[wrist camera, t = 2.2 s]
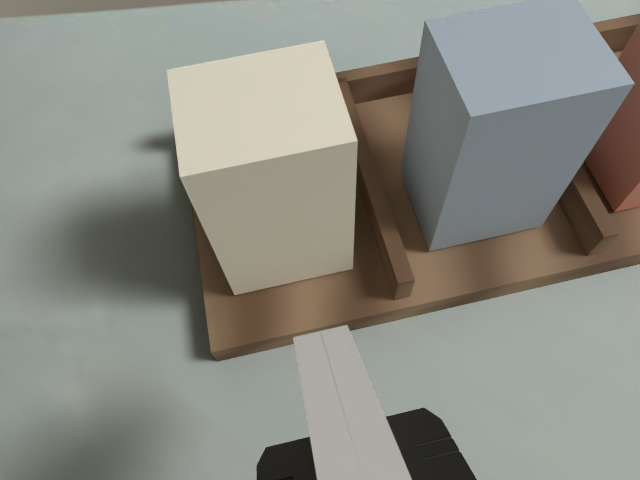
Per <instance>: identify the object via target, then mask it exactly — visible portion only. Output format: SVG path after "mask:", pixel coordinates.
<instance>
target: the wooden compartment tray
mask: <svg viewBox="0 0 640 480" xmlns="http://www.w3.org/2000/svg"><path fill="white" fill-rule="evenodd" d="M639 22H640V14H636V15H631V16H626V17H621V18H616V19H611V20H605V21H600V22H595V23H593V24H594V26H595V27H596V29H597V30H598V31H599V33H600V34H601V36H602V37H603V39H604V40H605V41H606V43H607V44H608V46H609V47H610V49H611V50H612V51H613V53H614V54H615V56H616V57H617V59H618V58H619V56H620V55H621V53H622V51H623V50H624V48H625V46H626V44H627V43H628V41H629V39H630V38H631V36H632V34H633V32H634V31H635V29H636V27H637V26H638V24H639ZM418 60H419V57H415V58H410V59H405V60H399V61H394V62H389V63H384V64H379V65H374V66H369V67H363V68H358V69H353V70H348V71H343V72H338V73H335V74H336V77H337V80H338V83H339V86H340V89H341V92H342V95H343V98H344V101H345V104H346V107H347V110H348V113H349V116H350V119H351V122H352V125H353V128H354V131H355V134H356V137H357V140H358V147H357V173H356V199H355V226H354V252H353V269H351V270H346V271H342V272H337V273H333V274H328V275H324V276H319V277H315V278H310V279H306V280H301V281H297V282H292V283H288V284H283V285H279V286H274V287H270V288H265V289H261V290H256V291H252V292H247V293H243V294H238V295H234V293H233V291H232V289H231V287H230V285H229V282H228V280H227V278H226V276H225V274H224V272H223V270H222V267H221V265H220V263H219V261H218V259H217V257H216V254H215V252H214V250H213V248H212V246H211V244H210V241H209V239H208V237H207V235H206V233H205V231H204V229H203V226H202V224H201V222H200V220H199V218H198V216H197V213H196V211H195V209H194V207H193V205H192V211H193V219H194V226H195V234H196V242H197V249H198V257H199V265H200V272H201V280H202V288H203V296H204V303H205V311H206V319H207V326H208V334H209V342H210V349H211V353H212V355H213V356H214V357H215V359H216V360H217V361H221V360H225V359H230V358H234V357H238V356H243V355H247V354H251V353H256V352H260V351H264V350H269V349H273V348H277V347H282V346H286V345H290V344H294V341H293V337H296V336H300V335H305V334H309V333H314V332H318V331H322V330H327V329H331V328H336V327H340V326H344V325H348V328H349V330H350V331H351V330H355V329H360V328H364V327H368V326H373V325H377V324H381V323H386V322H390V321H394V320H399V319H403V318H407V317H412V316H416V315H420V314H425V313H429V312H433V311H438V310H442V309H446V308H451V307H455V306H459V305H464V304H468V303H472V302H477V301H481V300H485V299H490V298H494V297H498V296H503V295H507V294H511V293H516V292H520V291H524V290H529V289H533V288H537V287H542V286H546V285H550V284H555V283H559V282H563V281H568V280H572V279H576V278H581V277H585V276H589V275H594V274H598V273H602V272H607V271H611V270H615V269H620V268H624V267H628V266H633V265H637V264H640V207H635V208H631V209H626V210H622V211H617V212H614V211H613V209H612V207H611V206H610V204H609V202H608V200H607V199H606V197H605V195H604V194H603V192H602V190H601V188H600V187H599V185H598V183H597V182H596V180H595V178H594V176H593V175H592V173H591V171H590V169H589V168H588V166H587V164H586V163H585V161H584V162H583V163H582V165H581V167H580V168H579V170H578V171H577V173H576V174H575V176H574V177H573V179H572V180H571V182H570V183H569V185H568V186H567V188H566V189H565V191H564V193H563V194H562V196H561V197H560V199H559V200H558V202H557V203H556V205H555V206H554V208H553V209H552V211H551V212H550V214H549V215H548V217H547V219H546V220H545V222H544V223H543V225H542V226H541V227H537V228H532V229H528V230H523V231H519V232H514V233H510V234H505V235H501V236H496V237H492V238H487V239H483V240H478V241H474V242H469V243H465V244H460V245H456V246H451V247H447V248H442V249H438V250H433V251H429V250H428V247H427V244H426V241H425V239H424V236H423V233H422V230H421V228H420V225H419V222H418V220H417V217H416V214H415V211H414V209H413V206H412V203H411V201H410V198H409V195H408V192H407V190H406V187H405V184H404V182H403V179H402V176H401V173H400V172H401V166H402V159H403V153H404V147H405V141H406V134H407V128H408V122H409V116H410V110H411V103H412V97H413V91H414V85H415V78H416V72H417V66H418Z"/></svg>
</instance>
